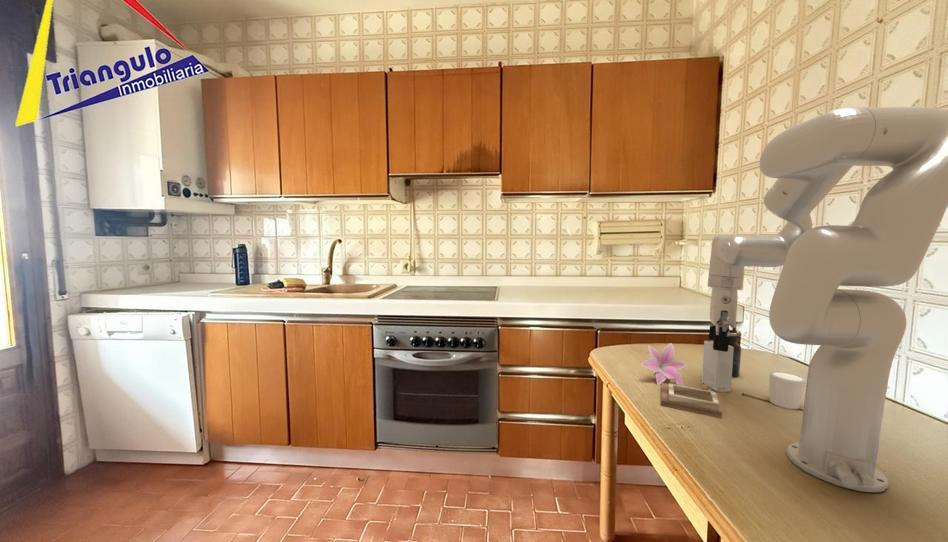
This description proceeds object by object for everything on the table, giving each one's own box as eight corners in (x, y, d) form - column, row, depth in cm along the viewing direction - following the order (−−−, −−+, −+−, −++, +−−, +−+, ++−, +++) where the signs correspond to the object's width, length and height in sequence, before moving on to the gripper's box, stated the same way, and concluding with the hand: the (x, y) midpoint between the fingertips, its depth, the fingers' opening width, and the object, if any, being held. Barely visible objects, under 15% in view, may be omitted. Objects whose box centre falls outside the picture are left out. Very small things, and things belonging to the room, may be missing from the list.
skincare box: (731, 392, 96) (736, 347, 95) (715, 392, 96) (719, 346, 95) (715, 382, 102) (719, 340, 101) (699, 382, 102) (703, 340, 101)
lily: (631, 383, 103) (644, 359, 98) (636, 356, 112) (649, 334, 107) (676, 403, 99) (692, 380, 94) (678, 374, 108) (693, 352, 103)
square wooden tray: (721, 418, 82) (722, 404, 82) (661, 405, 87) (662, 392, 87) (714, 396, 93) (715, 384, 93) (661, 386, 98) (662, 375, 98)
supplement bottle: (738, 372, 111) (742, 333, 110) (739, 379, 105) (744, 338, 104) (711, 367, 115) (714, 329, 113) (711, 374, 109) (715, 334, 108)
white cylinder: (810, 411, 86) (813, 383, 86) (776, 408, 88) (780, 380, 87) (791, 399, 93) (794, 372, 92) (760, 396, 94) (763, 369, 94)
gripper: (749, 288, 87) (740, 357, 89) (736, 279, 103) (729, 339, 105) (711, 285, 91) (704, 352, 93) (704, 277, 106) (698, 334, 108)
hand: (717, 345), depth 99 cm, fingers open, 9 cm apart
